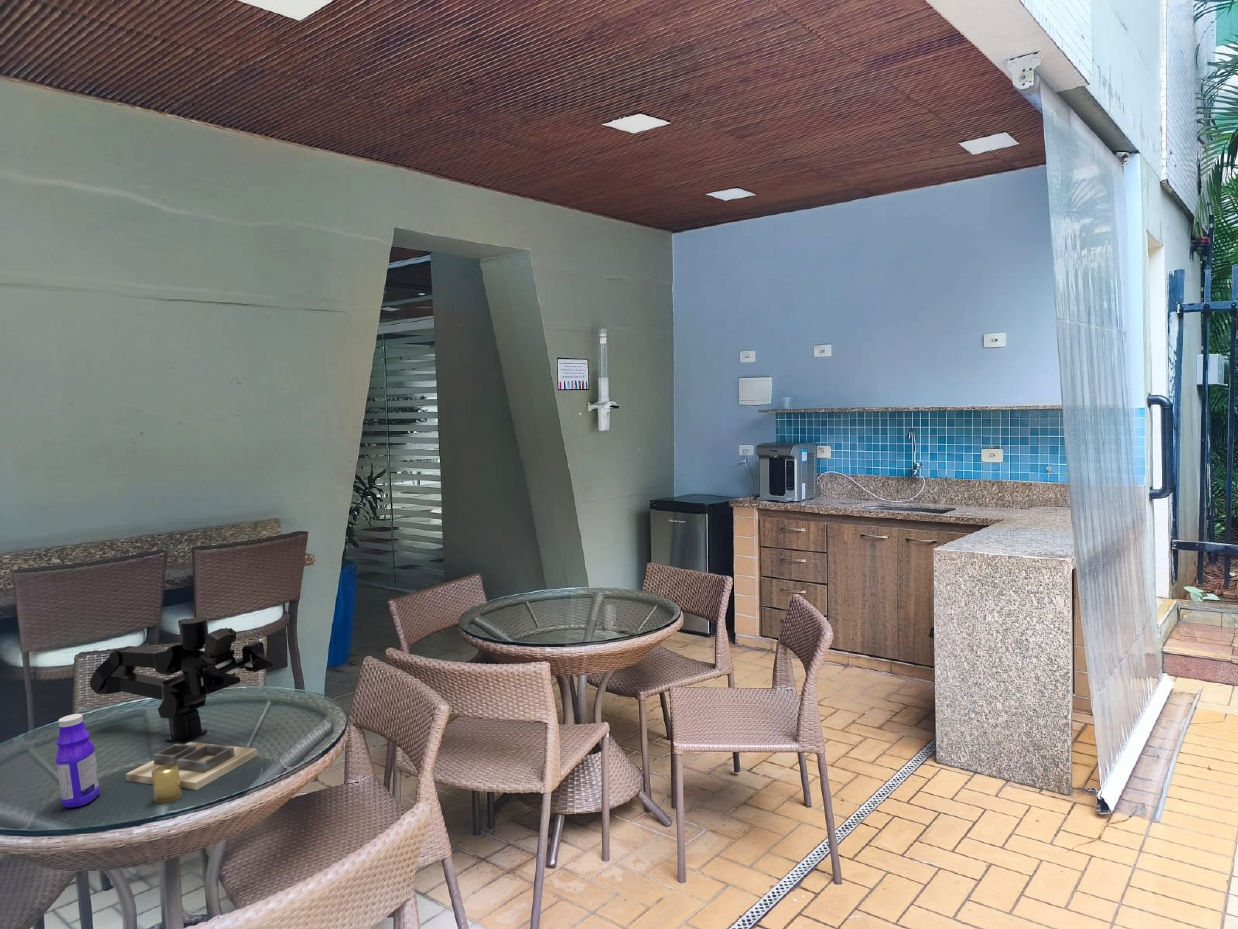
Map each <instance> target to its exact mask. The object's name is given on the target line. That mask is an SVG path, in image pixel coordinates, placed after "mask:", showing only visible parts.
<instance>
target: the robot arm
mask: <svg viewBox="0 0 1238 929" xmlns="http://www.w3.org/2000/svg"><path fill="white" fill-rule="evenodd" d="M177 624H178V625H177V626H178V629H179V639H180V643H177V644H175V645H172V646H169V647H164V648H158V647H157V648H156V647H155V648H154V647H140V646H139V647H135V646H133V645H131V646H130V645H126V646H123V647H121V648H117V649H115V650H113V651H112V652H110V654H109V655H108V656H107V658H106V659H105V660H104V661H103V662H102V663H101V664H100V665H98V667H97V668H96V669H95V671H94V672H93V673H92V676H91V678H90V680H89V686H90V688H91V690H92V691H94V693H95V694H97V695H100V696H101V695H102V696H103V695H112V694H117V693H126V694H130V695H131V694H132V695H137V696H140V697H144V698H150V699H153V700H154V699H155V700H159V701H162V702H161V704H160V705H159V707H158V708H157V711H158V715H159V716H160V718H161V719H167V720H168V724H169V731H170V736H169V737H166V738H165V741H166V742H172V743H178V744H187V743H189V742H191V741H192V740H194V739H196V738H198V737H200V736H202V735H204V734H207V732H208V730H207V729H202V723H201V722H202V720H201V717H200V712H199V708H203V707H205V706H206V699H207V695H210V694H213V693H215V692H219V691H220V690H223V689H226V688H229V687H232V686H233V685H234V686H235V685H237V684H239V683H241V678H240V676H238V675H236V673H237V672H240V671H241V670H243V669H245V671H246V672H250V673H257V672H260V671H263V670H266V669H270V668H273V667H274V663H273V661H272V660H270V659H269V658H268V657H266V655H265V654H266V653H265V645H264V643H263V642H262V641H257V640H255V641H252V642H250V643H248V644H246V645H244V646H243V647H242V648H241V654H242V657H239V658H238V659H236V657H235V656H234V655H235V649H233V648H232V644H233V643H234V642H236V639H237V631H236V630H234V629H233V628H232V627H229V628H228V627H225V628H222V627H221V628H219V629H216V630H213V631H211V632H209V627H208V626H209V624H208V617H206V616H199V617H198V616H197V617H196V616H195V617H190V618H188V617H187V618H185V617H184V618H182V619H180V620H178V621H177ZM202 649H204V650H202ZM137 668H147V669H148V668H150V669H154V670H155V672H156V673H158V674H161V675H164V676H172V675H173V674H175V673H179V672H182V674H178V675H177V676H174V677H171V678H169V679H165V678H162V677H156V676H152V675H146V674H142V673H135V671H136V669H137Z"/></svg>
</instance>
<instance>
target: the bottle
mask: <svg viewBox="0 0 1238 929" xmlns="http://www.w3.org/2000/svg"><path fill="white" fill-rule="evenodd" d="M58 727H59V728H58V729H59V734H58V737H57V739H56V745H57V746H58V750H57V752H56V758H55V763H56V767H57V768H56V770H57V777H58V782H59V790H60V791H59V792H60V798H61V799H60V800H61V804H62V806H63V807H65V808H66V807H67V808H70V807H71V808H77V807H78V806H79V807H82V805H83V806H86V805H87V804H89V803H90V802H92V801H93V800H95V799H96V798H97V797H98V795H99V794H100V789H101V786H100V779H99V774H98V766H97V759H96V758H97V756H96V751H95V746H94V743H93V742H92V740H90V737H91V734H90V732H89V731H88V730H87V728H86V726H85V723H84V716H83V714H82V713H73V714H69V715H66V716H62V717H60V718H59V719H58ZM71 808H70V809H71Z"/></svg>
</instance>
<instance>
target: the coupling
mask: <svg viewBox="0 0 1238 929" xmlns="http://www.w3.org/2000/svg"><path fill="white" fill-rule="evenodd" d="M152 779H153V784H152V786H153V794H154V799H155V803H156V804H158V805H165V804H169V803H172V802H176V801H177V800H179V799H181V797H182V795H183V793H182V788H181V785H180V778H179V770H178V765H177V764H168V765H163V766H160V767H158V768H156V769H154V770H153V771H152Z"/></svg>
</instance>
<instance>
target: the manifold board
mask: <svg viewBox="0 0 1238 929" xmlns="http://www.w3.org/2000/svg"><path fill="white" fill-rule="evenodd" d="M256 757H258V749H257V748H254V747H253V748H252V747H242V746H241V747H240V746H231V745H223V744H213V743H203V742H193V741H192V742H191V741H188V742H186V743H175V744H173V745H170V746H169V747H167V748H165V749H162V750H160V751H158V752H156V753H154V754H152V758H153V760H151V761H148V762H146V763H144V764H143V765H141V766H139V767H137V768H134V769H132V770H131V771H129V772H127V773H125V778H126V782H134V783H141V784H147V785H148V784H149V785H153V779H152V771H153V770H154V769H156V768H158V767H160V766H163V765H168V764H177V765H178V770H179V778H180V785H181V789H187V790H193V791H198V790H199V789H201V788H203V787H204V786H206V785H208V784H210V783H212V782H214V781H215V780H217V779H219V778H220V777H222V776H224V775H226V774H228V773H229V772H231V771H233V770H235V769H237V768H238V767H240V766H241V765H243V764H245V763H247V762H249V761H251V760H252V759H254V758H256Z"/></svg>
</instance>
